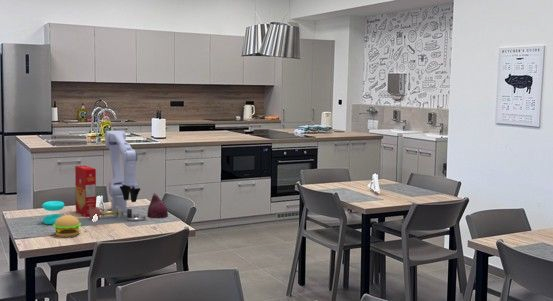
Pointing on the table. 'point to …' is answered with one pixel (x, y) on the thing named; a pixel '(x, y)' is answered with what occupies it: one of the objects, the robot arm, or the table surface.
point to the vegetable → (157, 208)
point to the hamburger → (67, 226)
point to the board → (105, 220)
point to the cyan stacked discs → (52, 207)
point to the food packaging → (85, 189)
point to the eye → (119, 212)
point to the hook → (97, 211)
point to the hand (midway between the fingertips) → (129, 201)
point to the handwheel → (134, 216)
